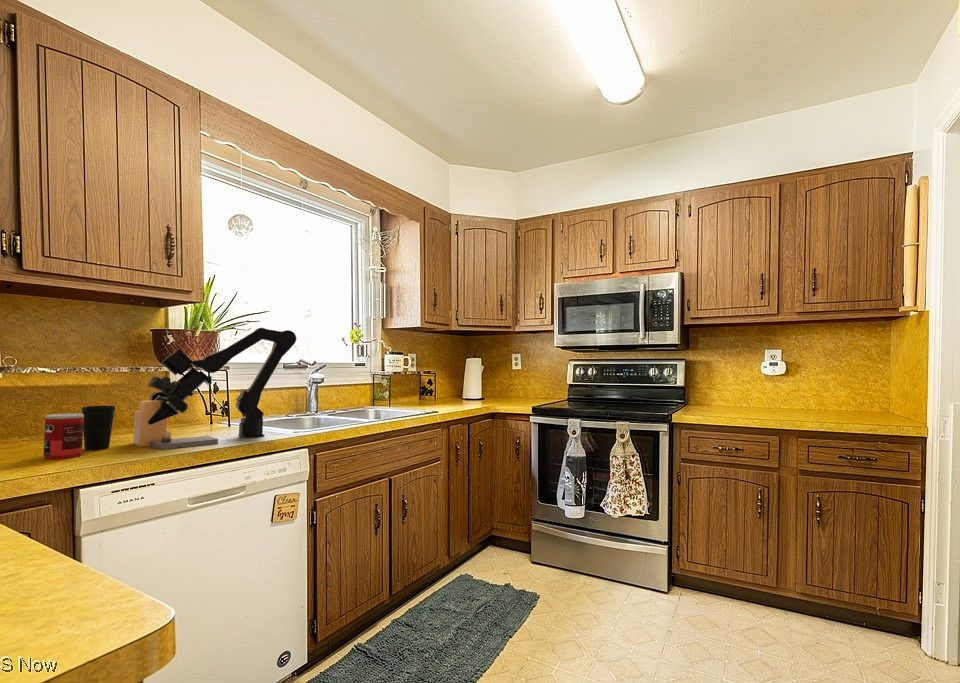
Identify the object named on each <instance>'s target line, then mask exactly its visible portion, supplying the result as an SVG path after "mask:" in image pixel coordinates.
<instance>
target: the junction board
mask: <svg viewBox="0 0 960 683" xmlns="http://www.w3.org/2000/svg"><path fill="white" fill-rule="evenodd" d="M218 444H219V439H218V437H213V436H210V435H201V436H200V435H199V436H191V437H180V438H179V437H177V438H172V431H171V430H166V431H163V432H162V438H161V440H154V441H150V446H149V447H152V448H154V449H155V450H158V449H159V451H161V449H164V450H170V449H169V448H173V449H179V448H178V447H183V448H190V446H193V447H202V446H210V445H211V446H212V445H218Z"/></svg>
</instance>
